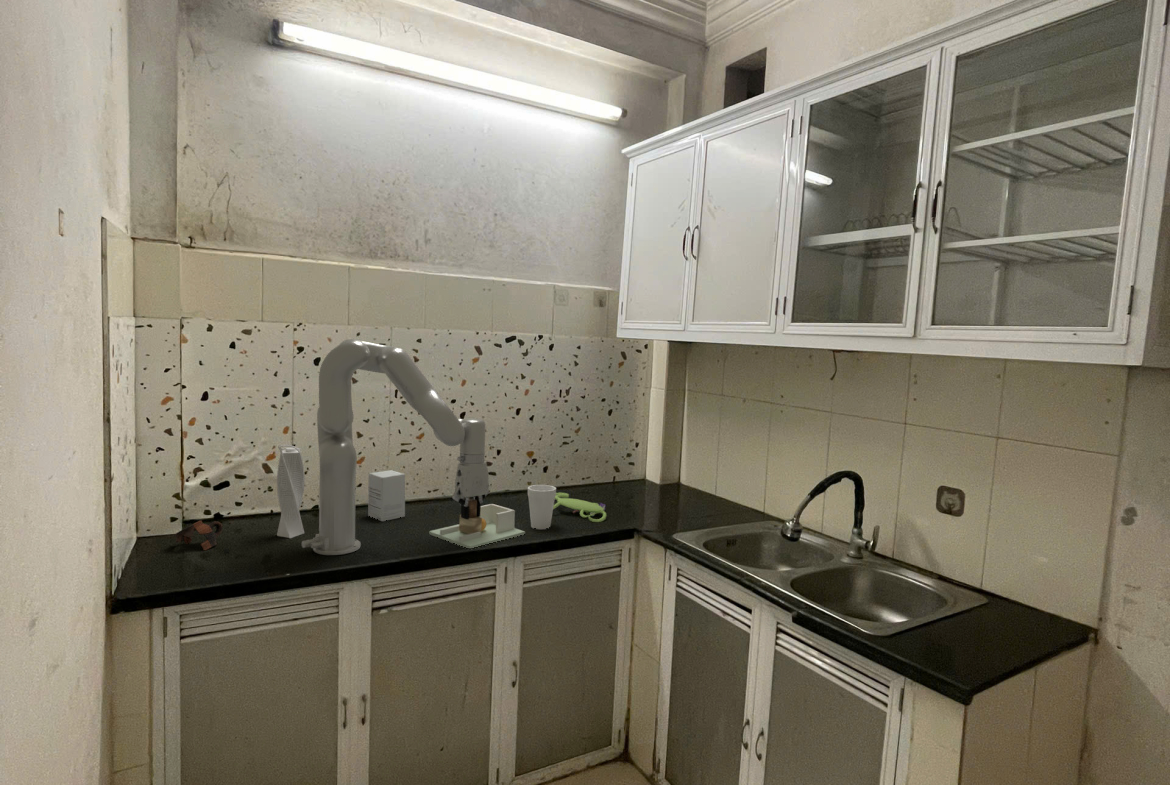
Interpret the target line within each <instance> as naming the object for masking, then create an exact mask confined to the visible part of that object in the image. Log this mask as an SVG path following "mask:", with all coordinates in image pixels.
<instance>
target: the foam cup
mask: <svg viewBox="0 0 1170 785" xmlns="http://www.w3.org/2000/svg"><path fill="white" fill-rule="evenodd" d="M556 493H557V487H555V486H553V485H548V484H534V485H530V486H527V496H528V498H527V499H528V506H529V516H530V518H529V520H530V527H531V528H532V529H534V528H536V529H535V530H547V529H546V528H548V529H549V527H550V528H551V524H552V519H553V512H554V511H553V510H554V509H553V507H554V505H555V500H556V499H555V496H556Z"/></svg>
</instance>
